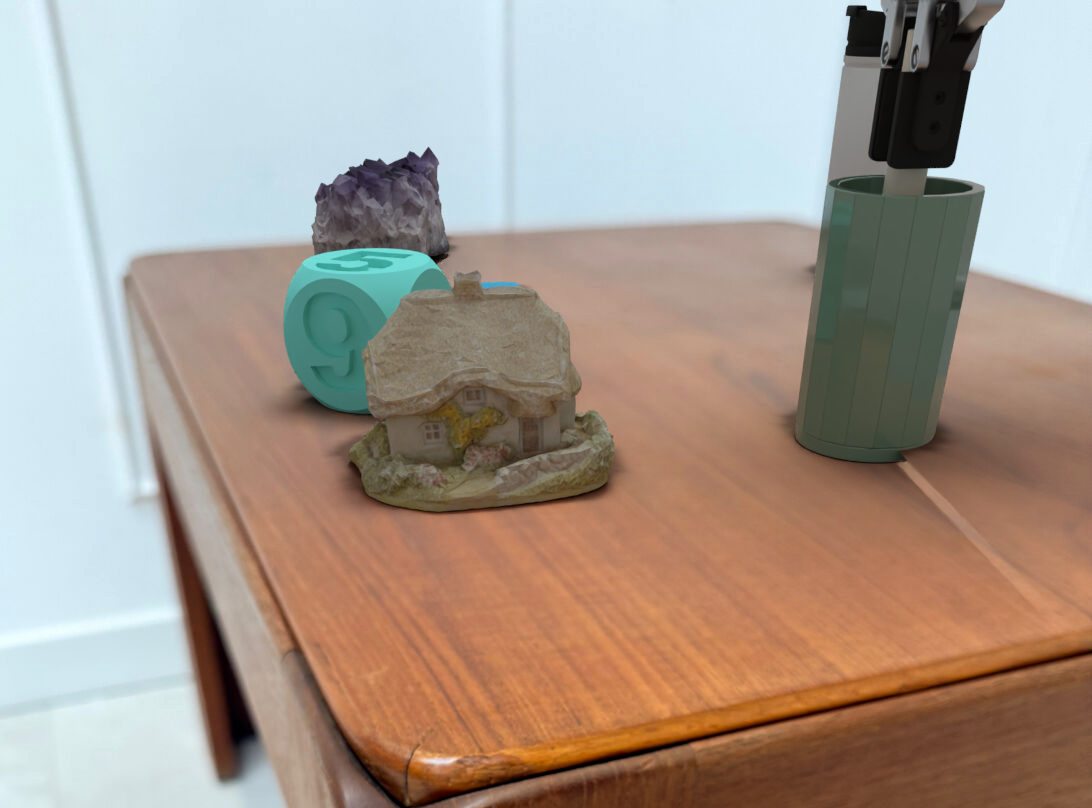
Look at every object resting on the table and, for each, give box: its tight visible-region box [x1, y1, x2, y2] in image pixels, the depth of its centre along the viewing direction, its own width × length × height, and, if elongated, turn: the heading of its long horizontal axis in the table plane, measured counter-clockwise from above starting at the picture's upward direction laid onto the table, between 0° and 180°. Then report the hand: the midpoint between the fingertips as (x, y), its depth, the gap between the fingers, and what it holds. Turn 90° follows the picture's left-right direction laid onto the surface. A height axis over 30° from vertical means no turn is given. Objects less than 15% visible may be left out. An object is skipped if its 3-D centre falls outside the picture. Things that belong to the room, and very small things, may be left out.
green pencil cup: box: [794, 175, 986, 464], centre depth 58 cm, size 8×8×13 cm
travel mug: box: [826, 4, 892, 185], centre depth 91 cm, size 6×7×20 cm
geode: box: [310, 146, 450, 258], centre depth 102 cm, size 20×12×10 cm, turn 172°
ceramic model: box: [347, 269, 616, 513], centre depth 56 cm, size 14×11×10 cm
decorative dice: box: [282, 248, 453, 415], centre depth 68 cm, size 8×8×8 cm
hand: (909, 160), depth 54 cm, fingers closed
